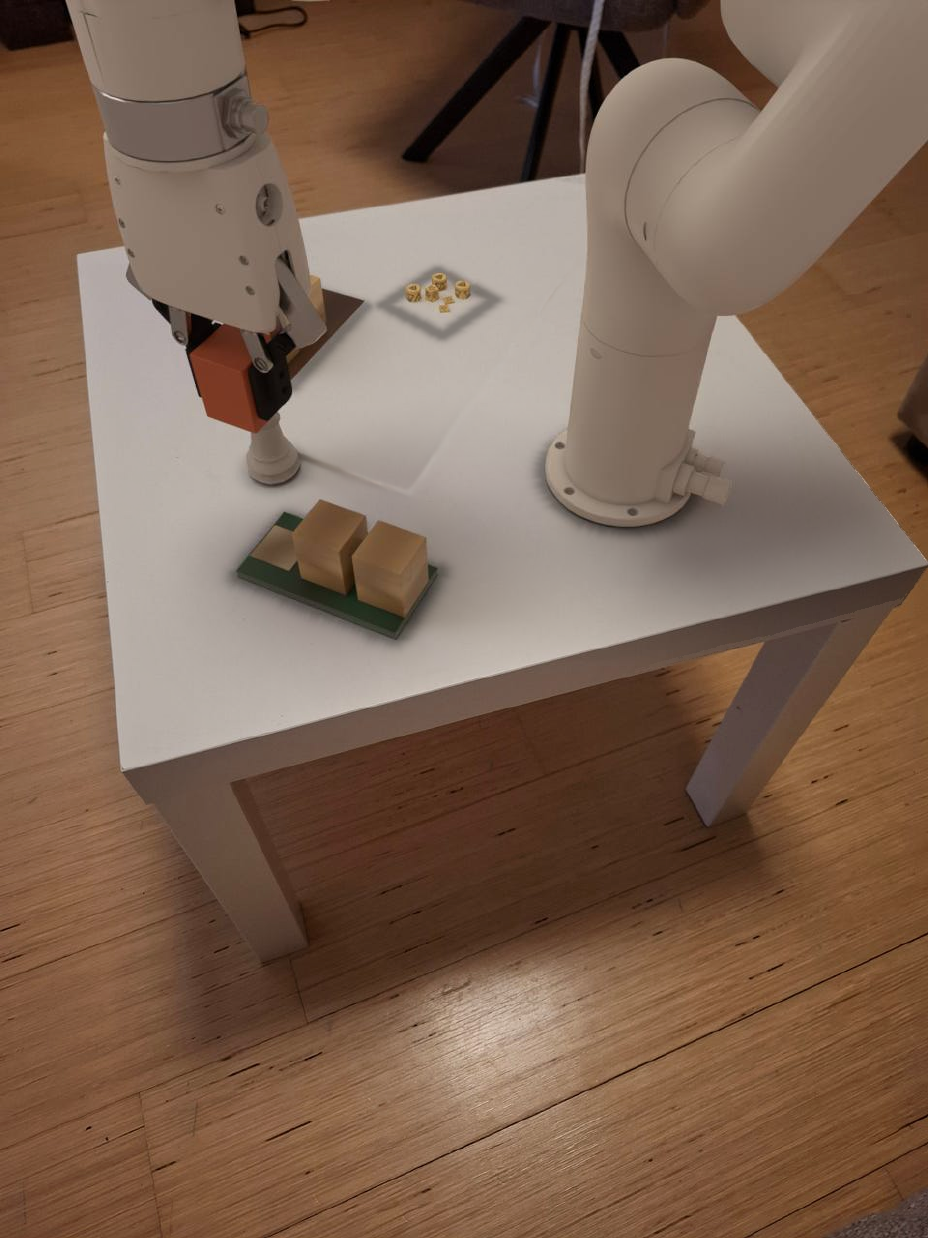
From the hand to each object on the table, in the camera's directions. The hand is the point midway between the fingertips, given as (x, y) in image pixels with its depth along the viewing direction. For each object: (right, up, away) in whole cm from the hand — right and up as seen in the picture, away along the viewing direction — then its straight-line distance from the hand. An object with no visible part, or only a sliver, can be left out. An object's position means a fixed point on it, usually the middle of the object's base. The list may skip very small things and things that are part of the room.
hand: (245, 394), depth 60 cm
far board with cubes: (-2, +13, +29) cm, 32 cm away
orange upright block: (0, -1, +1) cm, 1 cm away
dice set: (+12, +17, +33) cm, 39 cm away
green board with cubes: (+5, -12, +11) cm, 16 cm away
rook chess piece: (-2, -2, +18) cm, 18 cm away
